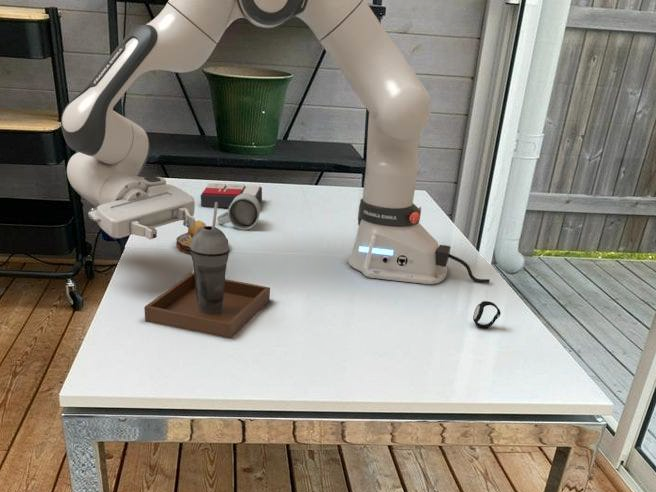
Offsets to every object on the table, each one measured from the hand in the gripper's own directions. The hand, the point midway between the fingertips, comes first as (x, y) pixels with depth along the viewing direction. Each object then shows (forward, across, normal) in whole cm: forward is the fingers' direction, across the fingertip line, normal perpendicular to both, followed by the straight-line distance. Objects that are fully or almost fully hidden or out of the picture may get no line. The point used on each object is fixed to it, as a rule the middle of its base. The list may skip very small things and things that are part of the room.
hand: (173, 229), depth 146 cm
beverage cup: (+13, -2, +10) cm, 17 cm away
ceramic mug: (-22, +40, +19) cm, 49 cm away
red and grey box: (-36, +52, +22) cm, 67 cm away
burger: (-15, +22, +16) cm, 31 cm away
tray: (+13, -2, +10) cm, 17 cm away
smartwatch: (+52, +34, +6) cm, 63 cm away
